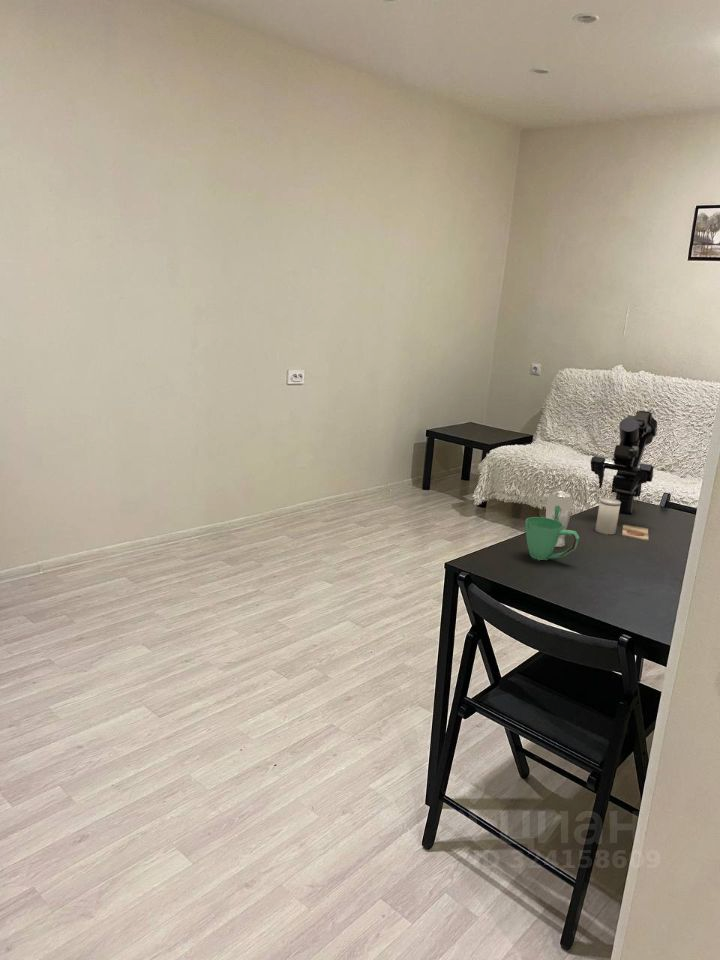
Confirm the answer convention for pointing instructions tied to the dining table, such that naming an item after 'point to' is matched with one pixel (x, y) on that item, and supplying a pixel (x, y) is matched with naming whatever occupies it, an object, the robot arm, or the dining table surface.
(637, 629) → the dining table surface
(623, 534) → the mat
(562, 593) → the dining table surface
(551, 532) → the mug
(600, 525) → the white lidded jar
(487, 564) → the dining table surface
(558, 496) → the beer glass
